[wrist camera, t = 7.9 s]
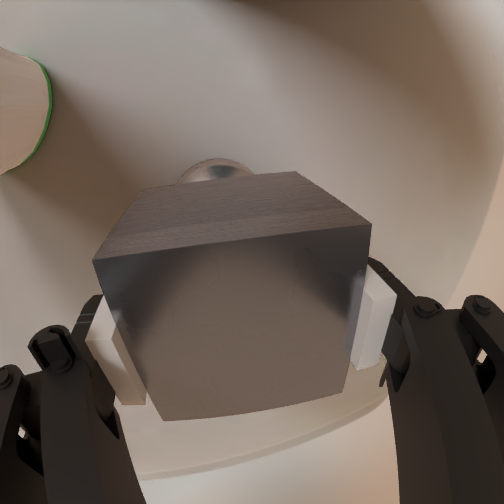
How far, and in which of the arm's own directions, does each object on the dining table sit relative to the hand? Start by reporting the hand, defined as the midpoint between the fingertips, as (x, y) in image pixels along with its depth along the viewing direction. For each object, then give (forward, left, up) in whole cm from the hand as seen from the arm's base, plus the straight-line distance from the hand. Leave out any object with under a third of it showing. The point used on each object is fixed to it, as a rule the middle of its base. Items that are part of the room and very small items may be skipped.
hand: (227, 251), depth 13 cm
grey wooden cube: (0, 0, 0) cm, 0 cm away
